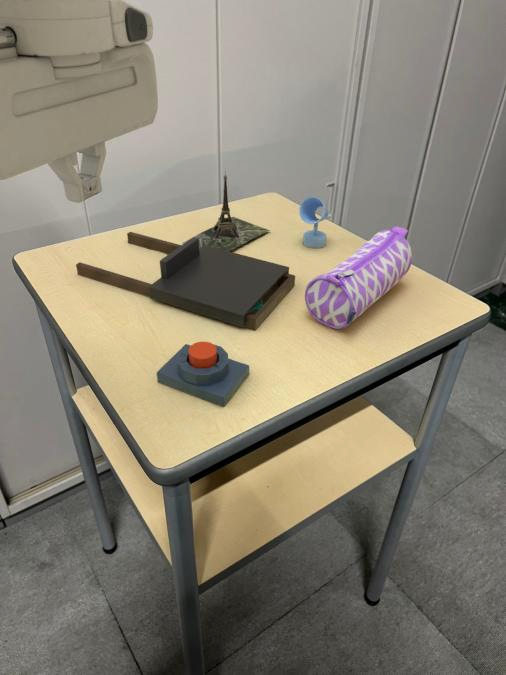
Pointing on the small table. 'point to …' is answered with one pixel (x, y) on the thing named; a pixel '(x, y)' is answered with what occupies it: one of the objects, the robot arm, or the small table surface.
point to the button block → (204, 376)
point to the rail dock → (168, 247)
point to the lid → (214, 281)
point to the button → (202, 355)
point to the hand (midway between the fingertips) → (84, 196)
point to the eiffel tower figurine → (229, 229)
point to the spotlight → (313, 222)
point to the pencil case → (359, 279)
